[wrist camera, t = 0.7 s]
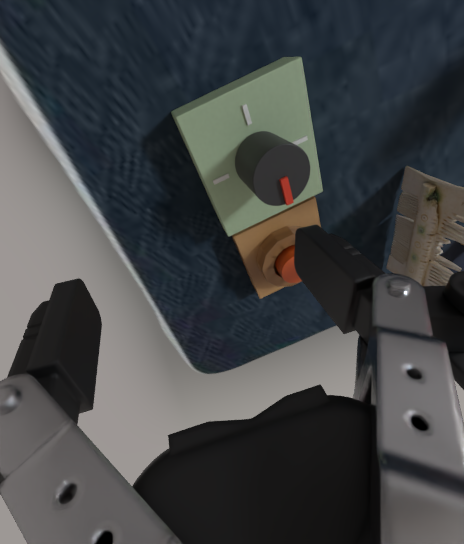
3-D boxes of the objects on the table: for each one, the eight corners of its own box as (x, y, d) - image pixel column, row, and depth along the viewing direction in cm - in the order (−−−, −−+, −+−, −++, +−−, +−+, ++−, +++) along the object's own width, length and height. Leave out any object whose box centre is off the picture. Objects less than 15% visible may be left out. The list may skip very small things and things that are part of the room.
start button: (271, 254, 29) (278, 264, 28) (302, 239, 29) (311, 247, 28) (279, 278, 32) (286, 288, 30) (309, 264, 32) (317, 273, 30)
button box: (227, 227, 30) (238, 246, 27) (305, 189, 30) (325, 204, 27) (253, 287, 36) (265, 309, 33) (318, 256, 36) (336, 274, 33)
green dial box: (170, 111, 23) (175, 117, 20) (284, 56, 23) (302, 56, 20) (220, 223, 30) (229, 238, 27) (308, 181, 30) (324, 192, 27)
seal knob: (227, 145, 23) (246, 162, 19) (277, 121, 23) (307, 133, 19) (244, 194, 25) (264, 217, 22) (289, 172, 25) (317, 192, 22)
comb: (394, 166, 32) (480, 201, 24) (413, 160, 32) (505, 192, 24) (378, 269, 41) (436, 318, 33) (393, 263, 41) (455, 311, 33)
